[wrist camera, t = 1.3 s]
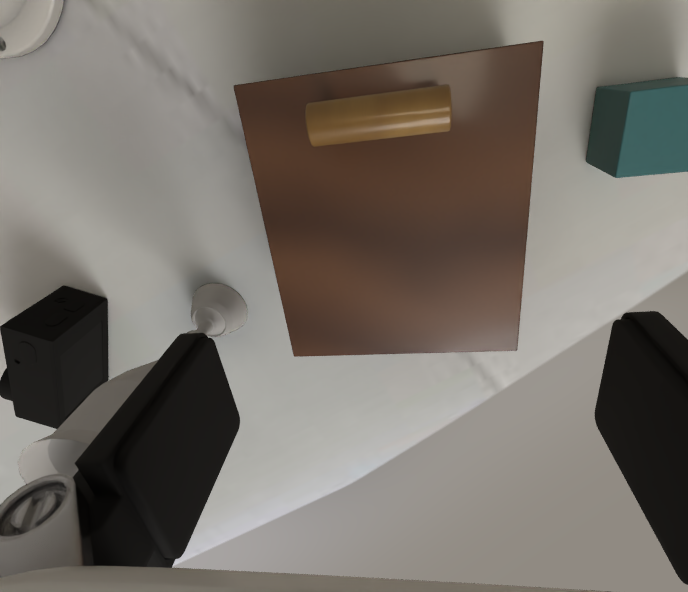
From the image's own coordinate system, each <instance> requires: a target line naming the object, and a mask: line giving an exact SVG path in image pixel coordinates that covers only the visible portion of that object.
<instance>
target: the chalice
mask: <svg viewBox="0 0 688 592" xmlns="http://www.w3.org/2000/svg"><path fill="white" fill-rule="evenodd" d="M247 314H248V312H247V307H246V304H245V302H244V300H243V298H242V297H241V296H240V295H239V294H238V293H237V292H236V291H235V290H233V289H232V288H230V287H228V286H226V285H222V284H219V283H209V284H206V285H203V286H201V287H200V288H199V289H198V290H196V292H195V294H194V296H193V300H192V310H191V318H192V322H193V323H194V325H195V326H196V328H197V330H192V331H189V332H187V333H205V334H206V335H208V336H211V337H220V336H224V335H226V334H228V333H231V332H232V331H235V330H237V329H239V328H240V327H242V326H243V324H244V323H245V321H246V320H247ZM157 361H158V360H157ZM157 361H154V362H151V363H148V364H146V365H143V366H140V367H137V368H134V369H132V370H129V371H126V372H125V373H123V374H121V375H119V376H117V377H115V378H113V379H111V380H109V381H107V382H105V383H103V384H102V385H101V386H99V387H98V388H97V389H95V390H94V391H93V392H92V393H91V394H90V395H89V396H88V397H87V398H86V399H85V400H84V402H83V403H82V404H81V405H80V406H79V407H78V408H77V409H76V410H75V411H74V412H73V413H72V414H71V415H70V416H69V417H68V418H67V419H66V420H65V421H64V423H63V424H62V425H61V426H60V427H59V428H58V429H57V430H56V431H55V432H54V433H53V434H52V435H50V436H48V437H45V438H43V439H41V440H38V441H36V442H34V443H32V444H31V445H29V446H28V447H26V448H25V449H24V450H22V453H21V455H20V457H19V460H18V466H19V472H20V475H21V477H22V479H23V480H24V482H25V483H26V484H28V483H29V482H31V481H33V480H35V479H38V478H41V477H43V476H46V475H51V474H57V473H59V474H67V475H69V476H70V477H72V478H73V476H74V475H75V474H76V473H77V471H78V470H79V469H78V468H77V466H76V465H75V462H76V461H77V459H78V458H79V457H80V456H81V455H82V453H83V452H84V451H85V450H86V448H87V447H88V446H89V445H90V444H91V442H92V441H93V440H94V439H95V437H96V436H97V435H98V434H99V432H100V431H101V430H102V429H103V428H104V426H105V425H106V424H107V423H108V421H109V420H110V419H111V418H112V417H113V415H114V414H115V413H116V412H117V410H118V409H119V408H120V407H121V406H122V404H123V403H124V402H125V401H126V399H127V398H128V397H129V396H130V394H131V393H132V392H133V391H134V390H135V388H136V387H137V386H138V385H139V383H140V382H141V381H142V380H143V379H144V377H145V376H146V375H147V374H148V372H149V371H150V370H151V369H152V367H153V366H154V365H155V364H156V363H157Z"/></svg>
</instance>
